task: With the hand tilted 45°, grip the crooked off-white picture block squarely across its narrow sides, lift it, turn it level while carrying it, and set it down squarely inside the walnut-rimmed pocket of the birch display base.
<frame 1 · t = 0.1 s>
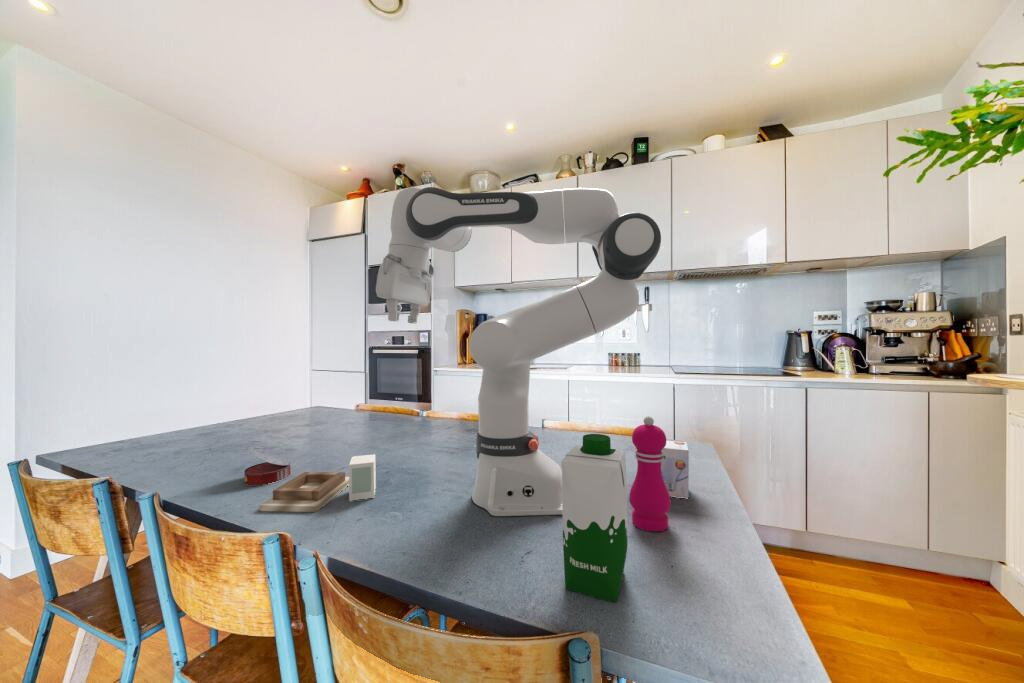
hand: (403, 322, 85), 39 cm above the table, tool pointing down, fingers open, 8 cm apart
canned food: (268, 479, 94), on the table
milk carton: (595, 582, 53), on the table
light bulb box: (663, 491, 83), on the table
pepper mill: (649, 524, 69), on the table
picture block: (363, 494, 84), on the table
display base: (311, 495, 83), on the table
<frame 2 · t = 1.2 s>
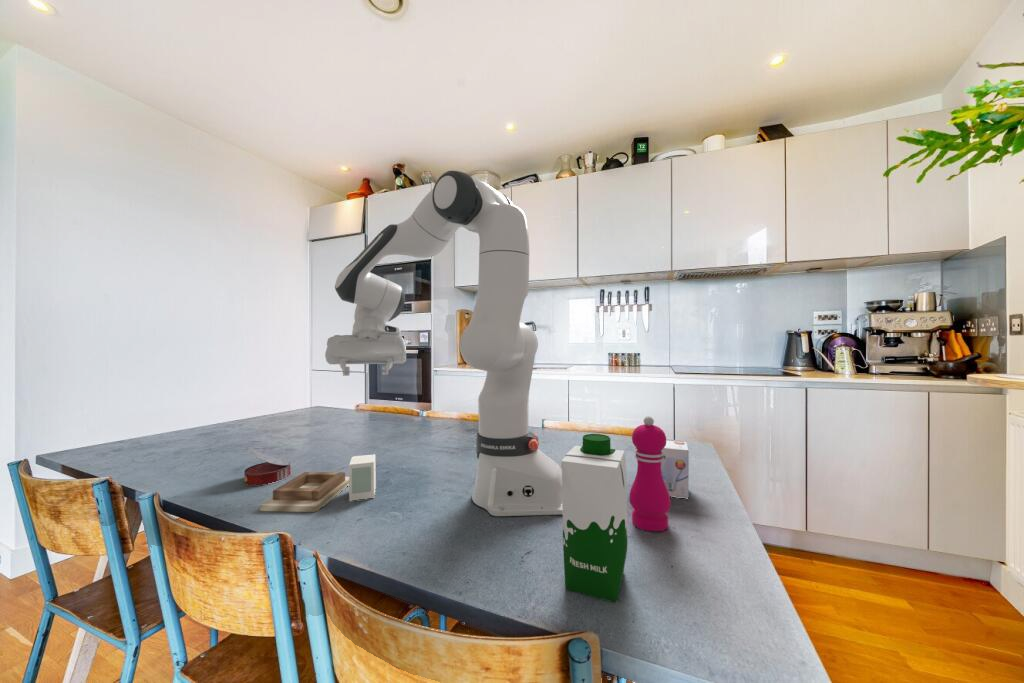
hand: (365, 373, 95), 26 cm above the table, tool tilted 45°, fingers open, 8 cm apart
nothing on the table moved.
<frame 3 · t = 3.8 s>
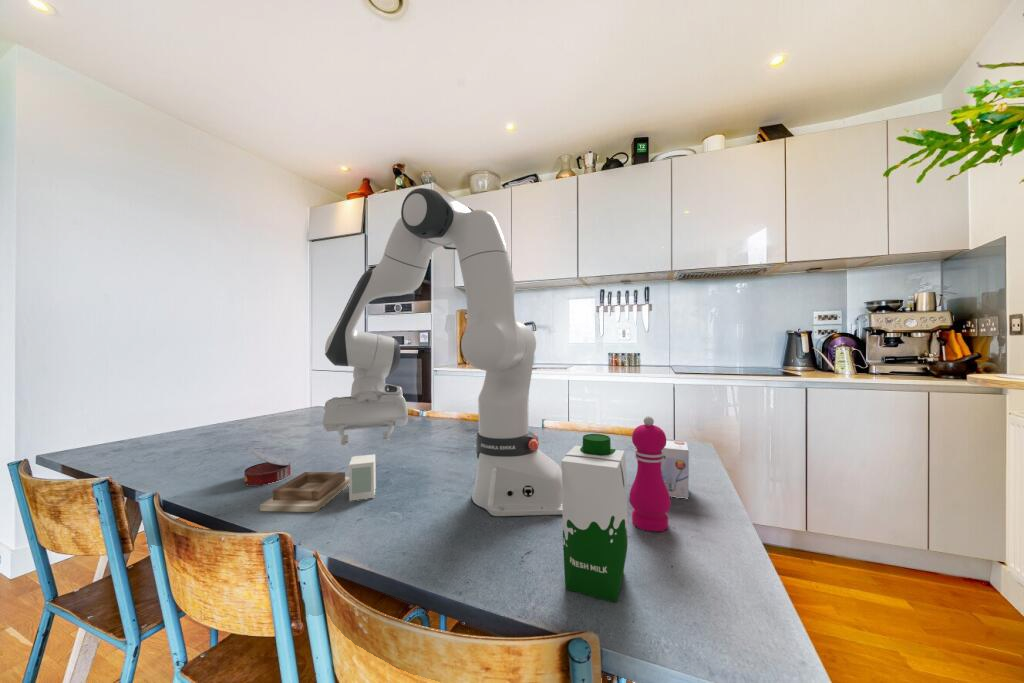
hand: (365, 441, 90), 10 cm above the table, tool tilted 45°, fingers open, 8 cm apart
nothing on the table moved.
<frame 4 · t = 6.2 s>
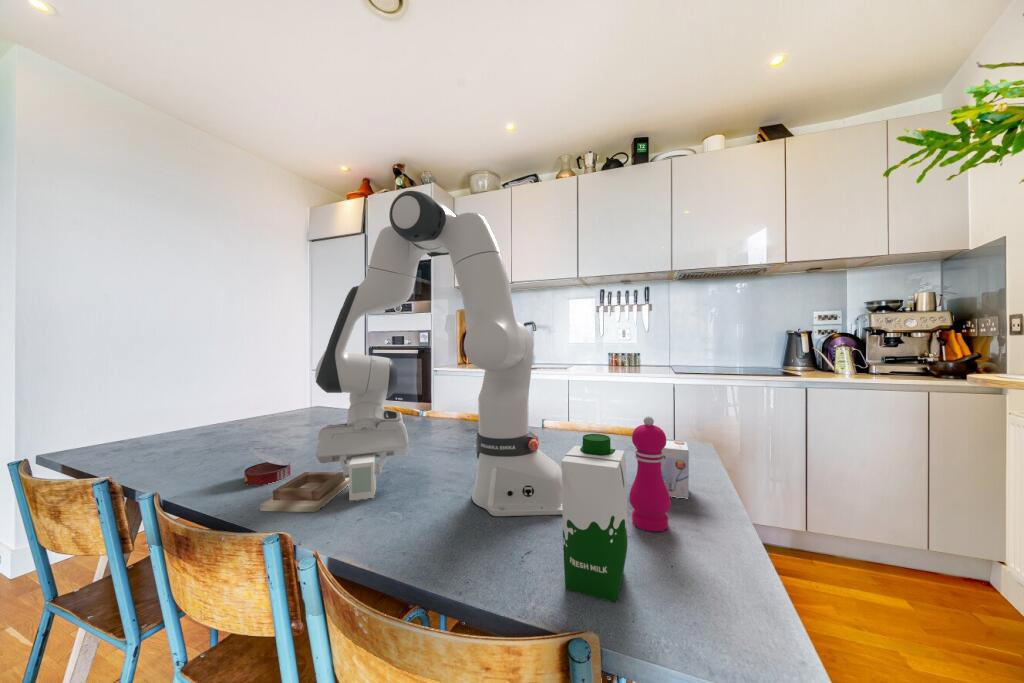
hand: (362, 475, 83), 5 cm above the table, tool tilted 45°, fingers closed on picture block, 5 cm apart
picture block: (363, 494, 84), on the table, touching gripper
everything else where it was.
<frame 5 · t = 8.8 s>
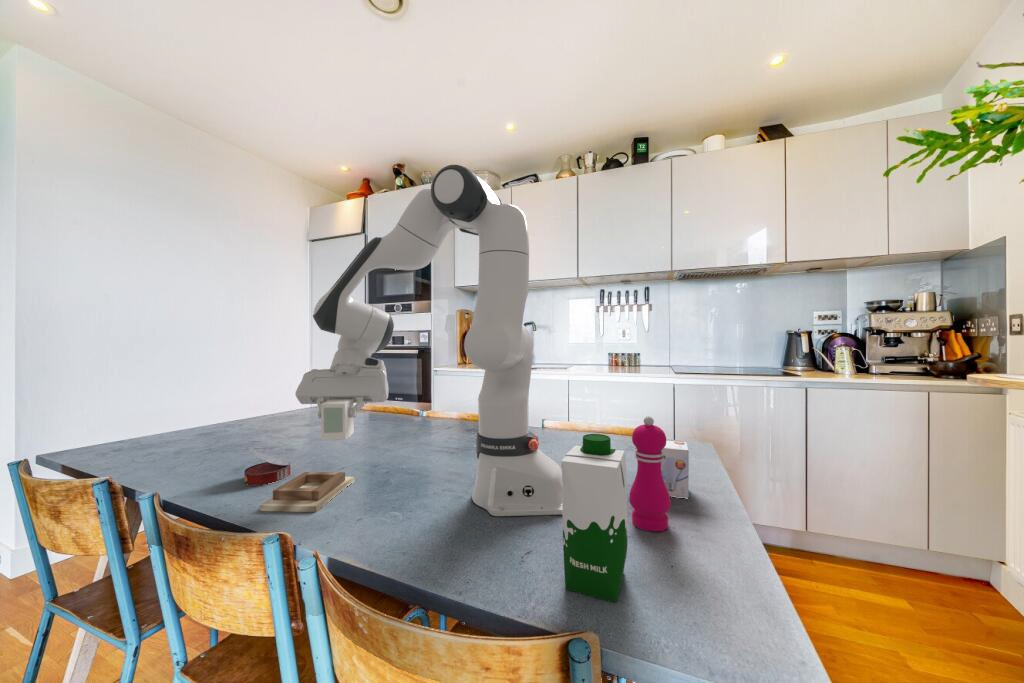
hand: (336, 416, 83), 18 cm above the table, tool tilted 45°, fingers closed on picture block, 5 cm apart
picture block: (338, 436, 84), point 13 cm above the table, touching gripper
everything else where it was.
when the fingers open (7 cm above the table, at t = 11.8 s): picture block drops 1 cm, resting on display base.
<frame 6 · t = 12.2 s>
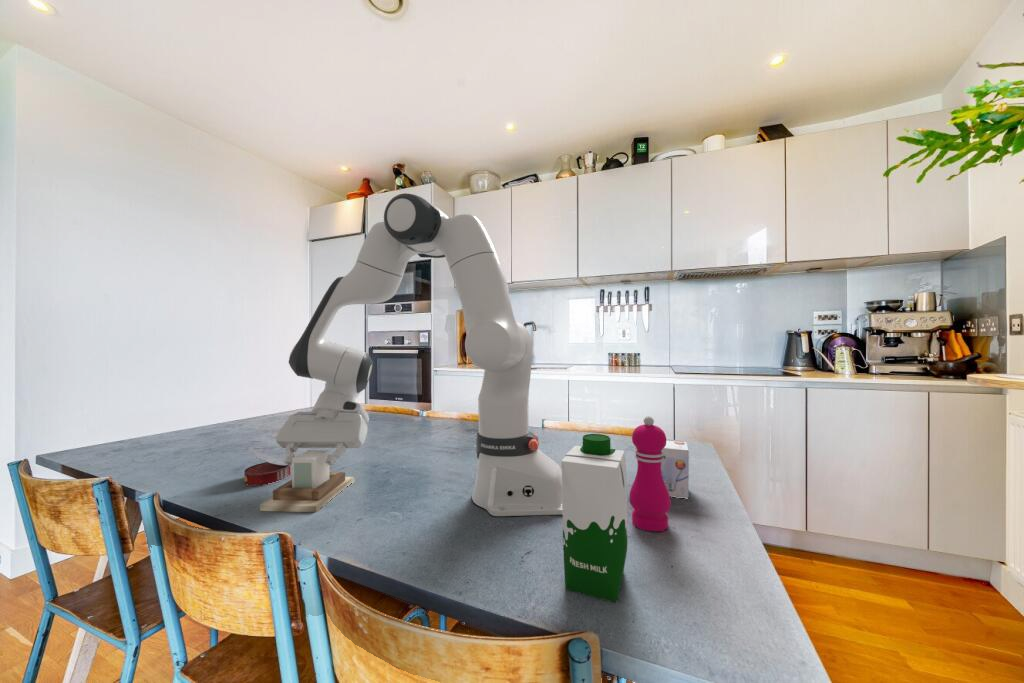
hand: (309, 464, 83), 7 cm above the table, tool tilted 45°, fingers open, 8 cm apart
picture block: (311, 489, 83), point 1 cm above the table, touching display base
everything else where it was.
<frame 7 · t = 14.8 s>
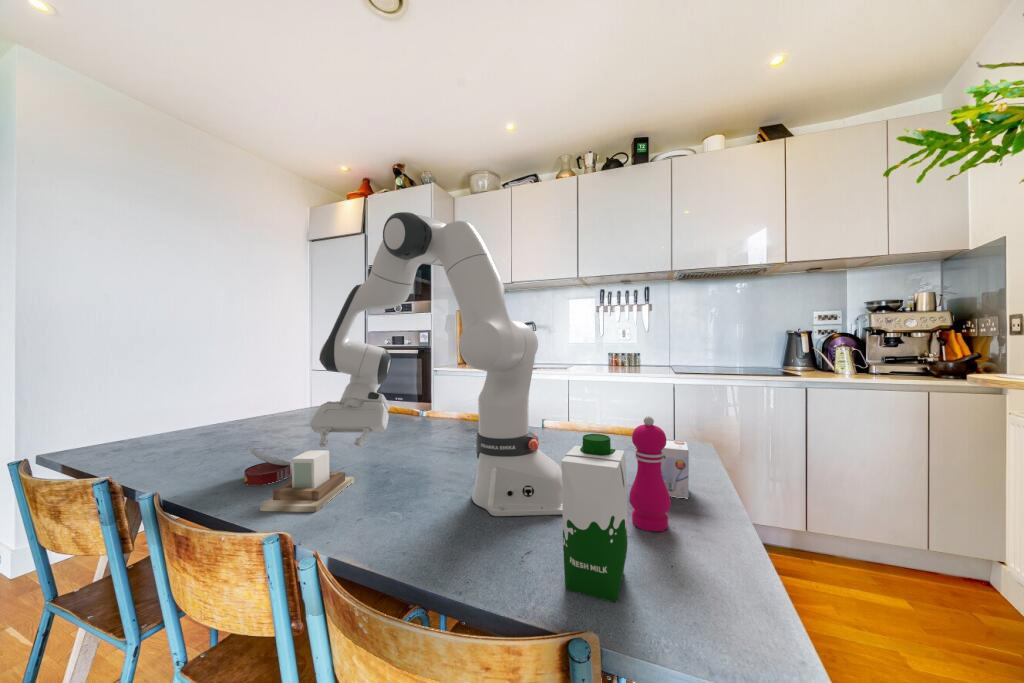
hand: (340, 445, 96), 8 cm above the table, tool tilted 45°, fingers open, 8 cm apart
nothing on the table moved.
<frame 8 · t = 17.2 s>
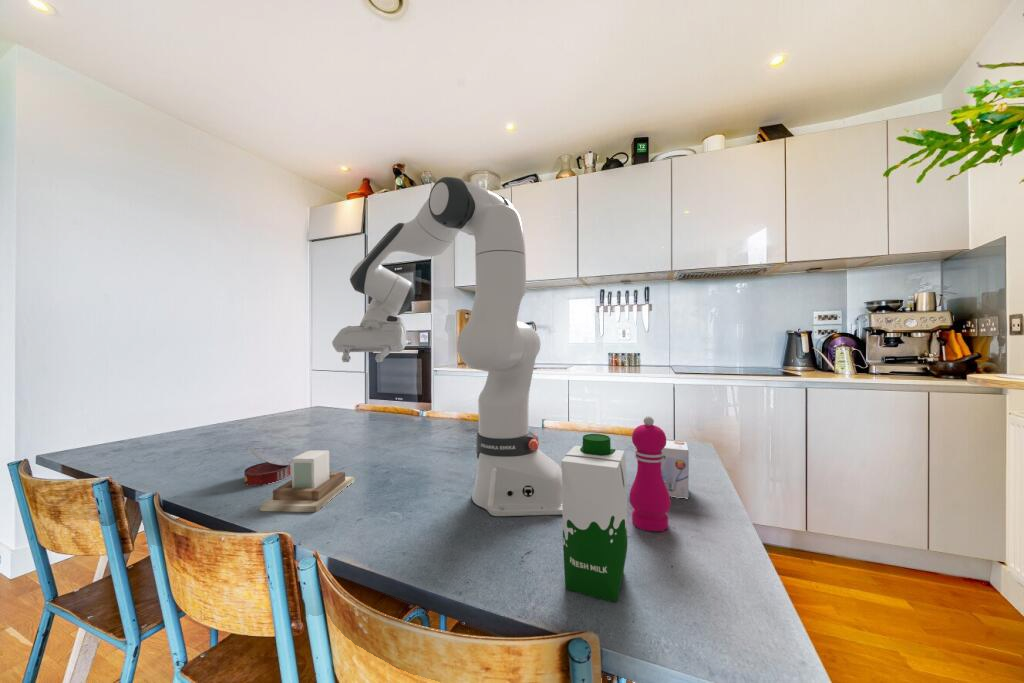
hand: (361, 360, 101), 29 cm above the table, tool tilted 45°, fingers open, 8 cm apart
nothing on the table moved.
at the end: picture block 0.1 cm off-centre on the display base, point 1.2 cm above the display base's base; picture block tilted 0°; the gripper is holding nothing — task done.
